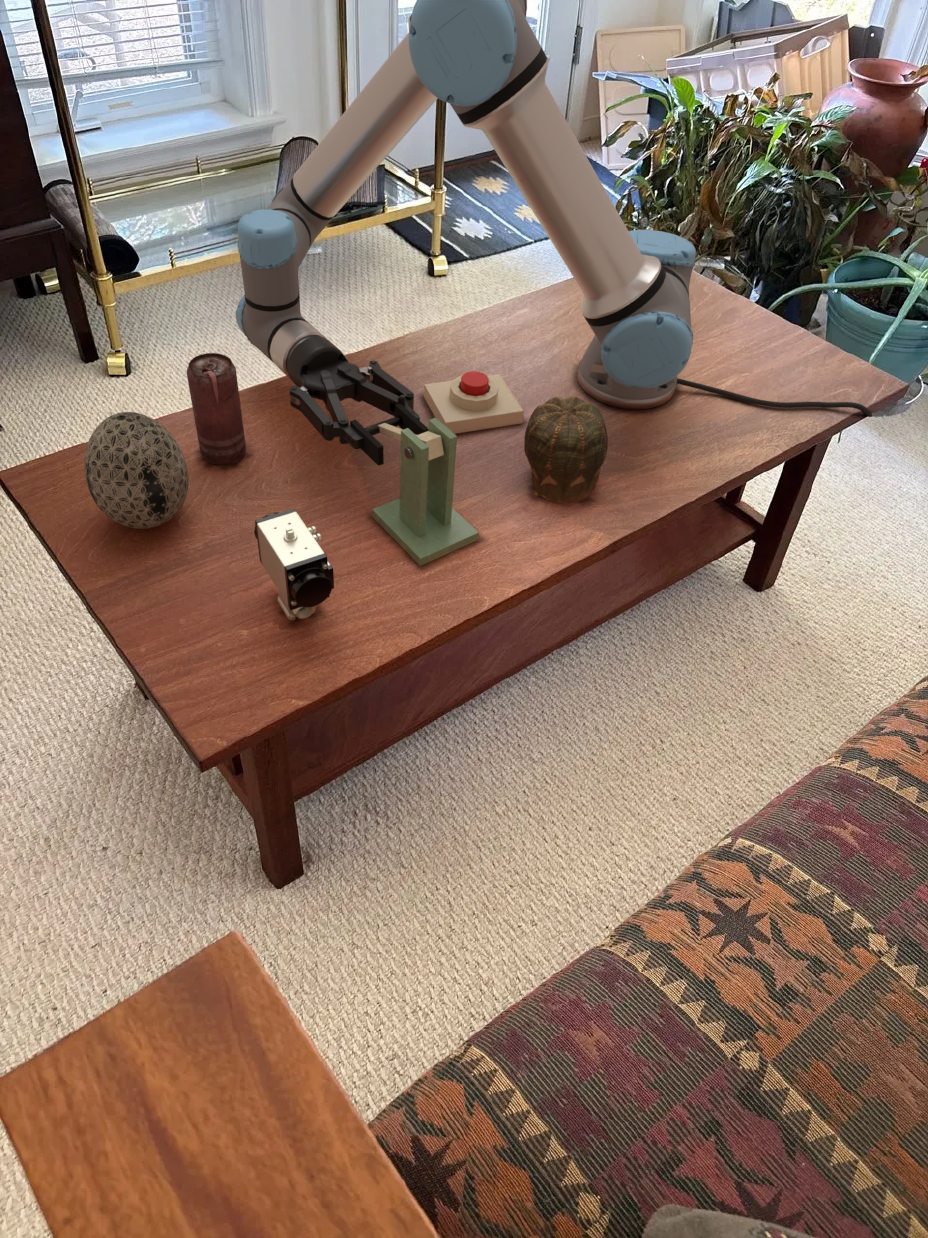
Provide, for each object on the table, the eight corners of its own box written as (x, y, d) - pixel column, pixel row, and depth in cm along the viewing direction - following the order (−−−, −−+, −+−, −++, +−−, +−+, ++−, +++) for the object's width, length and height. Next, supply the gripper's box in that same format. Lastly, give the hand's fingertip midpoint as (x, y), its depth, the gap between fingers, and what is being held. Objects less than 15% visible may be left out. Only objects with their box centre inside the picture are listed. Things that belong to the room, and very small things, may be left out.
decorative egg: (124, 562, 114) (97, 462, 103) (83, 510, 120) (54, 410, 109) (212, 526, 120) (195, 427, 109) (169, 477, 125) (149, 379, 115)
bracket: (372, 516, 123) (371, 421, 112) (429, 493, 127) (433, 398, 116) (420, 566, 117) (424, 470, 106) (478, 540, 121) (487, 445, 110)
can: (209, 472, 127) (194, 382, 117) (195, 446, 130) (179, 356, 120) (253, 461, 129) (242, 372, 119) (238, 436, 133) (226, 346, 122)
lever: (360, 442, 120) (356, 424, 119) (399, 428, 123) (396, 410, 122) (415, 465, 111) (412, 446, 109) (457, 449, 113) (454, 430, 112)
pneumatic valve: (298, 647, 107) (291, 570, 98) (259, 582, 113) (248, 504, 105) (343, 631, 109) (340, 554, 100) (301, 568, 115) (295, 490, 107)
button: (482, 379, 140) (483, 369, 138) (491, 394, 137) (492, 384, 136) (456, 383, 139) (457, 372, 137) (465, 398, 136) (466, 388, 135)
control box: (498, 386, 145) (500, 363, 142) (522, 423, 139) (525, 400, 136) (423, 396, 142) (424, 373, 139) (444, 435, 136) (446, 411, 133)
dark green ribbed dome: (572, 450, 135) (585, 377, 126) (613, 496, 129) (630, 422, 120) (505, 468, 131) (514, 394, 123) (544, 516, 125) (556, 441, 116)
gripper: (368, 364, 137) (463, 447, 125) (249, 403, 128) (338, 496, 116) (368, 317, 131) (467, 398, 119) (243, 354, 123) (336, 446, 111)
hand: (403, 447), depth 118 cm, fingers closed on lever, 6 cm apart
